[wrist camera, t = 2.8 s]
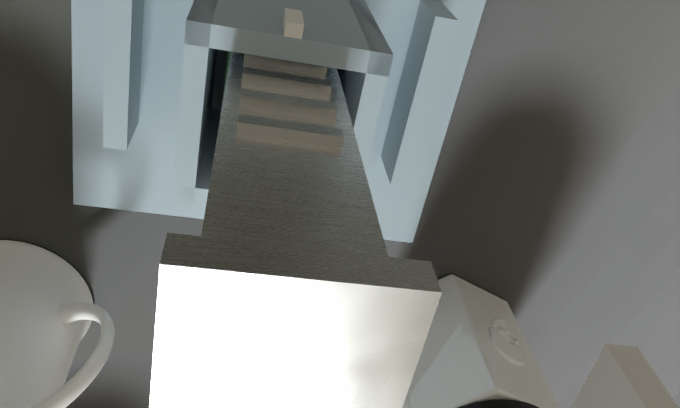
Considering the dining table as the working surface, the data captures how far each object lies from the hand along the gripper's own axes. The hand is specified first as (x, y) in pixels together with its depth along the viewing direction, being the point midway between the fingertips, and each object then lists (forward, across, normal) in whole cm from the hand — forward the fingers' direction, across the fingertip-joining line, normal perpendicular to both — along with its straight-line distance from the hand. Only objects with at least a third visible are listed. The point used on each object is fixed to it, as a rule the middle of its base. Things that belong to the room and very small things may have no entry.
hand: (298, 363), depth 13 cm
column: (+19, 0, 0) cm, 19 cm away
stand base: (+20, 0, 0) cm, 21 cm away
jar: (+21, +12, -16) cm, 29 cm away
